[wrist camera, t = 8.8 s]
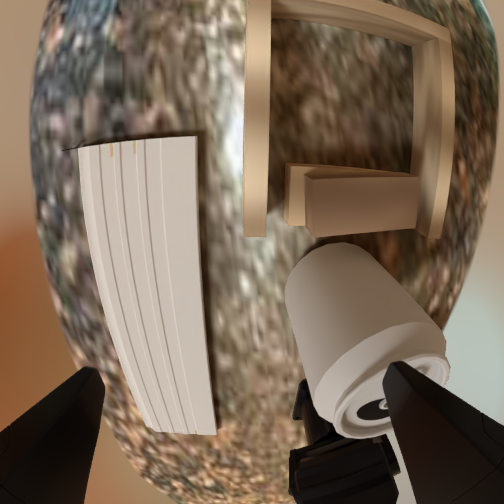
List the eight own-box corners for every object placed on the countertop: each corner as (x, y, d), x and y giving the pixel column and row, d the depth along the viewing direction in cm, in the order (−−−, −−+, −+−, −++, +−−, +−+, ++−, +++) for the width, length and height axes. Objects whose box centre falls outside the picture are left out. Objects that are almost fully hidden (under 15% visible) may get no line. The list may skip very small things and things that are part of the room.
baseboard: (136, 419, 28) (217, 425, 29) (132, 437, 26) (217, 444, 27) (68, 148, 17) (199, 134, 17) (47, 152, 14) (193, 134, 15)
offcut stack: (387, 219, 20) (415, 238, 16) (282, 217, 19) (294, 237, 16) (393, 168, 18) (425, 178, 15) (285, 159, 18) (298, 165, 14)
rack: (414, 223, 20) (440, 239, 17) (242, 219, 19) (243, 236, 16) (422, 38, 14) (449, 29, 11) (246, 3, 13) (249, -21, 10)
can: (266, 309, 22) (291, 447, 11) (309, 222, 20) (391, 331, 8) (345, 331, 24) (398, 444, 12) (389, 257, 21) (484, 353, 10)
